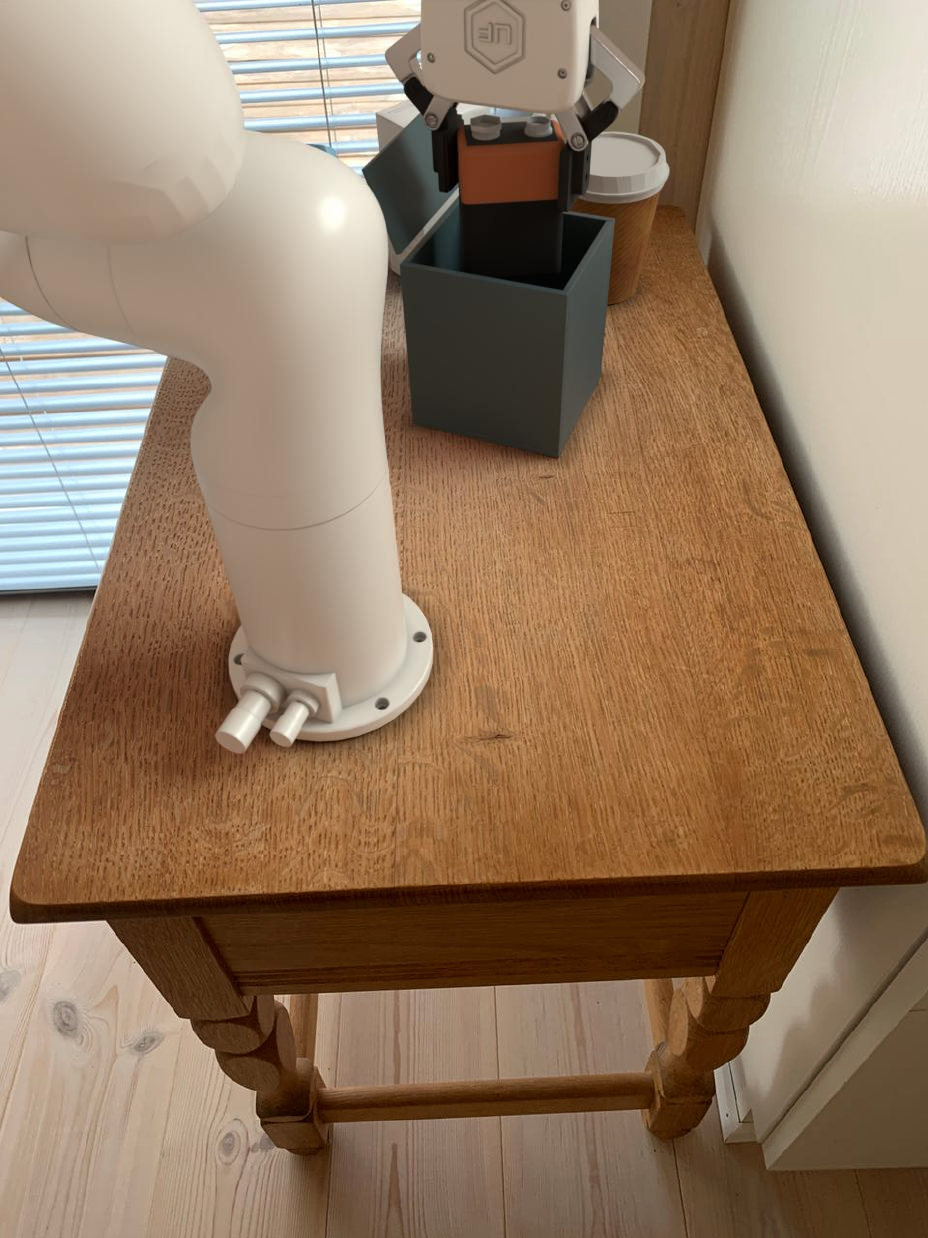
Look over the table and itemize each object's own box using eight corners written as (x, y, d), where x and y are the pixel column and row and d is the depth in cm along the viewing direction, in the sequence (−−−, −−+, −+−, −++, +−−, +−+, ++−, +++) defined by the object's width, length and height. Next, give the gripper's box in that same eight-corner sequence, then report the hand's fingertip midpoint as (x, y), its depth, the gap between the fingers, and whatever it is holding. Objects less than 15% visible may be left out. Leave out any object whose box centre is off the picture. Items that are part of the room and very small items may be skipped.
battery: (460, 253, 72) (455, 108, 64) (553, 247, 72) (559, 102, 64) (464, 284, 69) (459, 136, 61) (561, 278, 69) (568, 130, 61)
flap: (400, 254, 66) (396, 255, 67) (461, 184, 73) (457, 185, 73) (365, 168, 63) (360, 169, 63) (432, 102, 70) (428, 104, 70)
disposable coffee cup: (645, 321, 86) (661, 184, 77) (538, 307, 88) (543, 172, 79) (661, 266, 92) (679, 134, 83) (561, 255, 94) (568, 124, 85)
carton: (412, 424, 77) (399, 264, 67) (465, 349, 84) (460, 193, 74) (558, 458, 74) (567, 295, 64) (600, 377, 81) (615, 217, 71)
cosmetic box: (456, 243, 96) (450, 79, 85) (496, 266, 93) (495, 99, 82) (386, 273, 93) (371, 106, 81) (426, 298, 89) (415, 129, 78)
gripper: (336, -122, 53) (369, 198, 66) (652, -100, 48) (619, 240, 62) (394, -153, 58) (414, 152, 71) (688, -136, 53) (650, 187, 66)
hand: (510, 191), depth 66 cm, fingers closed on battery, 7 cm apart
